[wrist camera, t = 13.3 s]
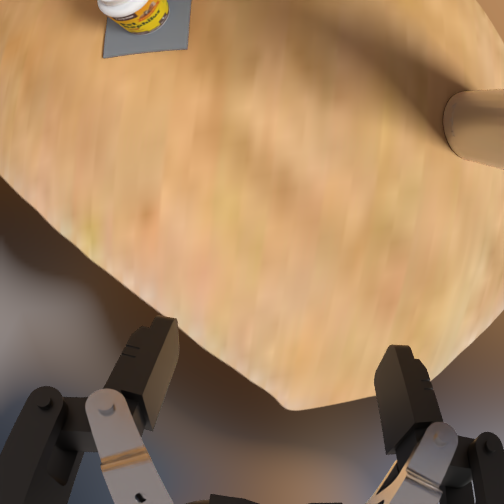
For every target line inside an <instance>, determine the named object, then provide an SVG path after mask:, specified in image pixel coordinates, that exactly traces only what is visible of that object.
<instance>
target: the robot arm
mask: <svg viewBox="0 0 504 504" xmlns="http://www.w3.org/2000/svg"><path fill="white" fill-rule="evenodd" d="M443 126H444V132H445V135H446V138H447V141H448V143H449V145H450V147H451V148H452V150H453V151H454V152H455V153H456V154H457V155H458V156H459V157H461V158H463V159H465V160H469V161H473V162H477V163H481V164H484V165H488V166H492V167H495V168H499V169H503V170H504V89H495V90H476V91H463V92H459V93H457V94H455V95H453V96H452V97H451V98H450V99H449V101H448V103H447V105H446V108H445V111H444V117H443ZM178 336H179V335H178V322H177V319H176V318H170V317H165V316H159V315H157V316H156V317H155V318H154V320H153V322H152V324H151V326H150V328H149V327H144V326H141V327H140V328H139V329H137V330H136V331H135V332H134V333H133V334H132V335H131V336H130V338H129V340H128V342H127V344H126V347H125V348H124V350H123V351H122V355H120V357H119V359H118V361H117V363H116V365H115V367H114V369H113V371H112V373H111V375H110V377H109V379H108V381H107V382H106V384H105V386H104V388H103V389H100V390H97V391H95V392H93V393H92V394H91V395H90V396H89V397H84V398H78V397H62V395H61V393H60V392H59V391H58V390H57V389H55V388H53V387H50V386H44V387H39V388H37V389H36V390H34V391H33V392H32V393H31V394H30V396H29V397H28V399H27V401H26V403H25V405H24V407H23V409H22V411H21V413H20V415H19V416H18V418H17V421H16V423H15V425H14V426H13V429H12V431H11V433H10V435H9V437H8V439H7V441H6V443H5V446H4V448H3V450H2V452H1V454H0V504H67V503H68V500H69V497H70V493H71V490H72V487H73V484H74V481H75V478H76V475H77V472H78V469H79V466H80V463H81V460H82V457H83V455H84V452H99V455H100V458H101V469H102V472H103V475H104V478H105V480H106V483H107V486H108V488H109V491H110V493H111V495H112V498H113V501H114V503H115V504H174V503H173V502H172V500H171V498H170V496H169V494H168V492H167V490H166V488H165V487H164V485H163V483H162V481H161V479H160V477H159V475H158V473H157V471H156V469H155V467H154V465H153V462H152V460H151V458H150V456H149V454H148V452H147V450H146V448H145V446H144V444H143V441H142V439H141V437H142V434H143V431H144V429H146V430H150V431H153V429H154V427H155V424H156V421H157V418H158V415H159V412H160V409H161V406H162V404H163V401H164V398H165V395H166V392H167V389H168V386H169V384H170V381H171V378H172V375H173V372H174V370H175V367H176V364H177V361H178V356H179V337H178ZM374 386H375V391H376V396H377V402H378V407H379V413H380V419H381V425H382V431H383V438H384V444H385V450H386V455H389V454H396V456H397V460H396V461H395V462H394V464H393V465H392V467H391V469H390V470H389V472H388V473H387V475H386V476H385V478H384V479H383V481H382V482H381V484H380V485H379V487H378V488H377V490H376V491H375V493H374V494H373V495H372V497H371V498H370V499H369V500H368V501H367V502H366V503H365V504H438V502H440V504H504V449H503V446H502V443H501V441H500V439H499V438H498V437H497V436H496V435H495V434H493V433H491V432H484V433H482V434H480V435H479V436H478V437H477V438H476V439H472V438H467V437H462V436H458V435H457V433H456V431H455V430H454V428H453V427H452V426H450V425H449V424H447V423H444V422H443V419H442V416H441V413H440V409H439V406H438V402H437V399H436V396H435V393H434V391H433V387H432V384H431V382H430V378H429V375H428V372H427V369H426V368H425V366H424V365H423V364H422V362H421V361H420V360H419V359H414V356H413V353H412V350H411V348H410V347H409V346H407V345H390V346H389V347H388V349H387V351H386V353H385V355H384V357H383V359H382V360H381V362H380V364H379V366H378V368H377V370H376V373H375V378H374ZM472 480H473V484H474V491H475V497H476V503H474V496H473V490H472V483H471V481H472ZM186 504H258V503H255V502H252V501H249V500H246V499H242V498H235V497H227V496H221V495H215V494H211V495H210V500H200V501H194V502H190V503H186ZM310 504H342V503H310Z"/></svg>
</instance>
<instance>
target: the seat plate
mask: <svg viewBox="0 0 504 504" xmlns="http://www.w3.org/2000/svg"><path fill="white" fill-rule="evenodd" d="M167 2H168V4H169V8H170V12H169V16H168V19H167V20H166V22H165V23H164V24H163V26H161V27H160V28H159V29H158V30H156V31H155V32H152V33H150V34H146V35H135V34H132V33H130V32H129V31H127V30H126V29H124V28H123V27H122V26H120V25H119V24H118V23H116V22H115V21H113V20H112V19H111V18H109V17H108V18H107V26H106V34H105V44H104V54H103V58H111V57H117V56H124V55H131V54H139V53H148V52H158V51H169V50H184V49H188V35H189V22H190V10H191V0H167Z"/></svg>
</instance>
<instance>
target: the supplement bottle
mask: <svg viewBox="0 0 504 504" xmlns="http://www.w3.org/2000/svg"><path fill="white" fill-rule="evenodd" d="M97 2H98V6H99V9H100V10H101V11H102V12H103V13H104V14H105V15H107V16H108V17H109V18H111V19H112V20H113V21H115V22H116V23H118V24H119V25H120V26H122V27H123V28H124V29H126V30H127V31H129V32H130V33H132V34H135V35H146V34H150V33H152V32H155V31H156V30H158V29H159V28H160V27H161V26H163V24H164V23H165V22H166V20H167V19H168V16H169V12H170V8H169V4H168V2H167V0H97Z"/></svg>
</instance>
